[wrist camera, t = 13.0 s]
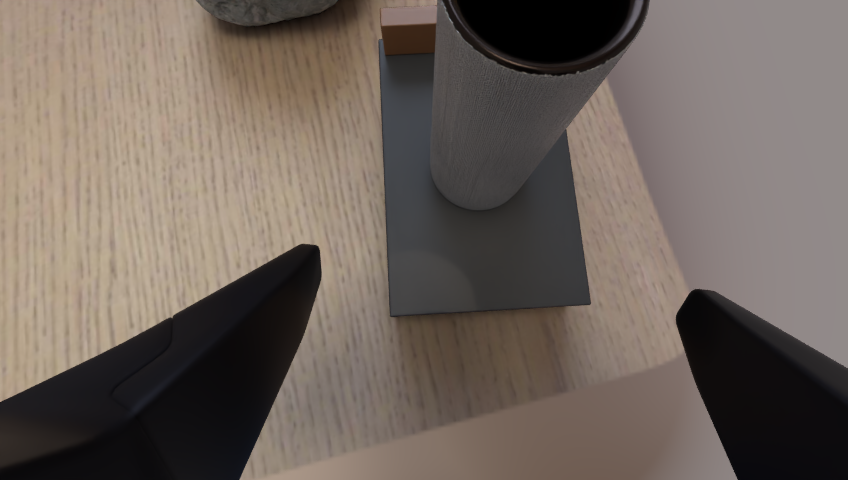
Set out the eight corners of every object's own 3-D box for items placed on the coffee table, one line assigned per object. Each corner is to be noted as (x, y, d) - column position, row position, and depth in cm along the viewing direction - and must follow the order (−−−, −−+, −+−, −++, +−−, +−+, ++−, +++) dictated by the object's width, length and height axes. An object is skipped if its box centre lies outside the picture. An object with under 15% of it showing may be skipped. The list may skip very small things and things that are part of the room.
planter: (465, 105, 19) (515, -140, 9) (542, 156, 18) (692, -42, 8) (410, 175, 18) (395, -3, 8) (489, 230, 18) (581, 115, 7)
